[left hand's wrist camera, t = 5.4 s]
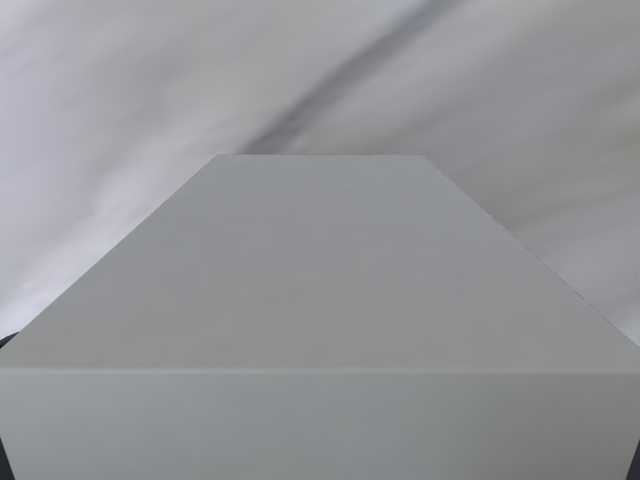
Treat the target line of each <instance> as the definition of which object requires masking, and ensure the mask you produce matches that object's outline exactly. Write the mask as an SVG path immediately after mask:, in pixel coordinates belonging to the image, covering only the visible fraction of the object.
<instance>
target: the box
mask: <svg viewBox="0 0 640 480" xmlns="http://www.w3.org/2000/svg"><path fill="white" fill-rule="evenodd" d="M0 438H1V441H2V443H3V446H4V449H5V452H6V455H7V458H8V461H9V464H10V466H11V469H12V472H13V475H14V478H15V480H626V477H627V474H628V471H629V468H630V465H631V463H632V460H633V457H634V454H635V451H636V448H637V445H638V442H639V440H640V349H639V348H638V347H637V346H636V345H635V344H634V343H633V342H632V341H630V340H629V339H628V338H627V337H626V336H625V335H624V334H623V333H622V332H620V331H619V330H618V329H617V328H616V327H615V326H614V325H613V324H611V323H610V322H609V321H608V320H607V319H606V318H605V317H604V316H603V315H601V314H600V313H599V312H598V311H597V310H596V309H595V308H594V307H592V306H591V305H590V304H589V303H588V302H587V301H586V300H585V299H584V298H582V297H581V296H580V295H579V294H578V293H577V292H576V291H575V290H573V289H572V288H571V287H570V286H569V285H568V284H567V283H566V282H565V281H563V280H562V279H561V278H560V277H559V276H558V275H557V274H556V273H554V272H553V271H552V270H551V269H550V268H549V267H548V266H547V265H546V264H544V263H543V262H542V261H541V260H540V259H539V258H538V257H537V256H535V255H534V254H533V253H532V252H531V251H530V250H529V249H528V248H527V247H525V246H524V245H523V244H522V243H521V242H520V241H519V240H518V239H516V238H515V237H514V236H513V235H512V234H511V233H510V232H509V231H508V230H506V229H505V228H504V227H503V226H502V225H501V224H500V223H499V222H497V221H496V220H495V219H494V218H493V217H492V216H491V215H490V214H488V213H487V212H486V211H485V210H484V209H483V208H482V207H481V206H480V205H478V204H477V203H476V202H475V201H474V200H473V199H472V198H471V197H469V196H468V195H467V194H466V193H465V192H464V191H463V190H462V189H461V188H459V187H458V186H457V185H456V184H455V183H454V182H453V181H452V180H450V179H449V178H448V177H447V176H446V175H445V174H444V173H443V172H442V171H440V170H439V169H438V168H437V167H436V166H435V165H434V164H433V163H431V162H430V161H429V160H428V159H427V158H426V157H425V156H424V155H217V156H216V157H215V158H213V159H212V160H211V161H210V162H209V163H208V164H207V165H206V166H204V167H203V168H202V169H201V170H200V171H199V172H198V173H197V174H196V175H194V176H193V177H192V178H191V179H190V180H189V181H188V182H187V183H185V184H184V185H183V186H182V187H181V188H180V189H179V190H178V191H177V192H175V193H174V194H173V195H172V196H171V197H170V198H169V199H168V200H166V201H165V202H164V203H163V204H162V205H161V206H160V207H159V208H158V209H156V210H155V211H154V212H153V213H152V214H151V215H150V216H149V217H147V218H146V219H145V220H144V221H143V222H142V223H141V224H140V225H139V226H137V227H136V228H135V229H134V230H133V231H132V232H131V233H130V234H128V235H127V236H126V237H125V238H124V239H123V240H122V241H121V242H120V243H118V244H117V245H116V246H115V247H114V248H113V249H112V250H111V251H109V252H108V253H107V254H106V255H105V256H104V257H103V258H102V259H101V260H99V261H98V262H97V263H96V264H95V265H94V266H93V267H92V268H90V269H89V270H88V271H87V272H86V273H85V274H84V275H83V276H82V277H80V278H79V279H78V280H77V281H76V282H75V283H74V284H73V285H71V286H70V287H69V288H68V289H67V290H66V291H65V292H64V293H63V294H61V295H60V296H59V297H58V298H57V299H56V300H55V301H54V302H52V303H51V304H50V305H49V306H48V307H47V308H46V309H45V310H44V311H42V312H41V313H40V314H39V315H38V316H37V317H36V318H35V319H33V320H32V321H31V322H30V323H29V324H28V325H27V326H26V327H25V328H23V329H22V330H21V331H20V332H19V333H18V334H17V335H16V336H14V337H13V338H12V339H11V340H10V341H9V342H8V343H7V344H6V345H4V346H3V347H2V348H1V349H0Z"/></svg>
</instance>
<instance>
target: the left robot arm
mask: <svg viewBox="0 0 640 480" xmlns="http://www.w3.org/2000/svg"><path fill="white" fill-rule="evenodd" d="M18 333H19V332H17V333H15V334H12V335H10V336H7V337H5V338H3V339H2V340H0V349H1V348H2V347H3V346H4V345H6V344H7V343H8V342H9V341H10V340H11V339H12V338H13V337H14V336H16V335H17V334H18ZM0 480H15V478H14V475H13V472H12V469H11V466H10V464H9V461H8V458H7V455H6V452H5V449H4V446H3V443H2V441H1V438H0ZM626 480H640V440H639V442H638V445H637V448H636V451H635V454H634V457H633V460H632V463H631V465H630V468H629V471H628V474H627V477H626Z"/></svg>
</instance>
